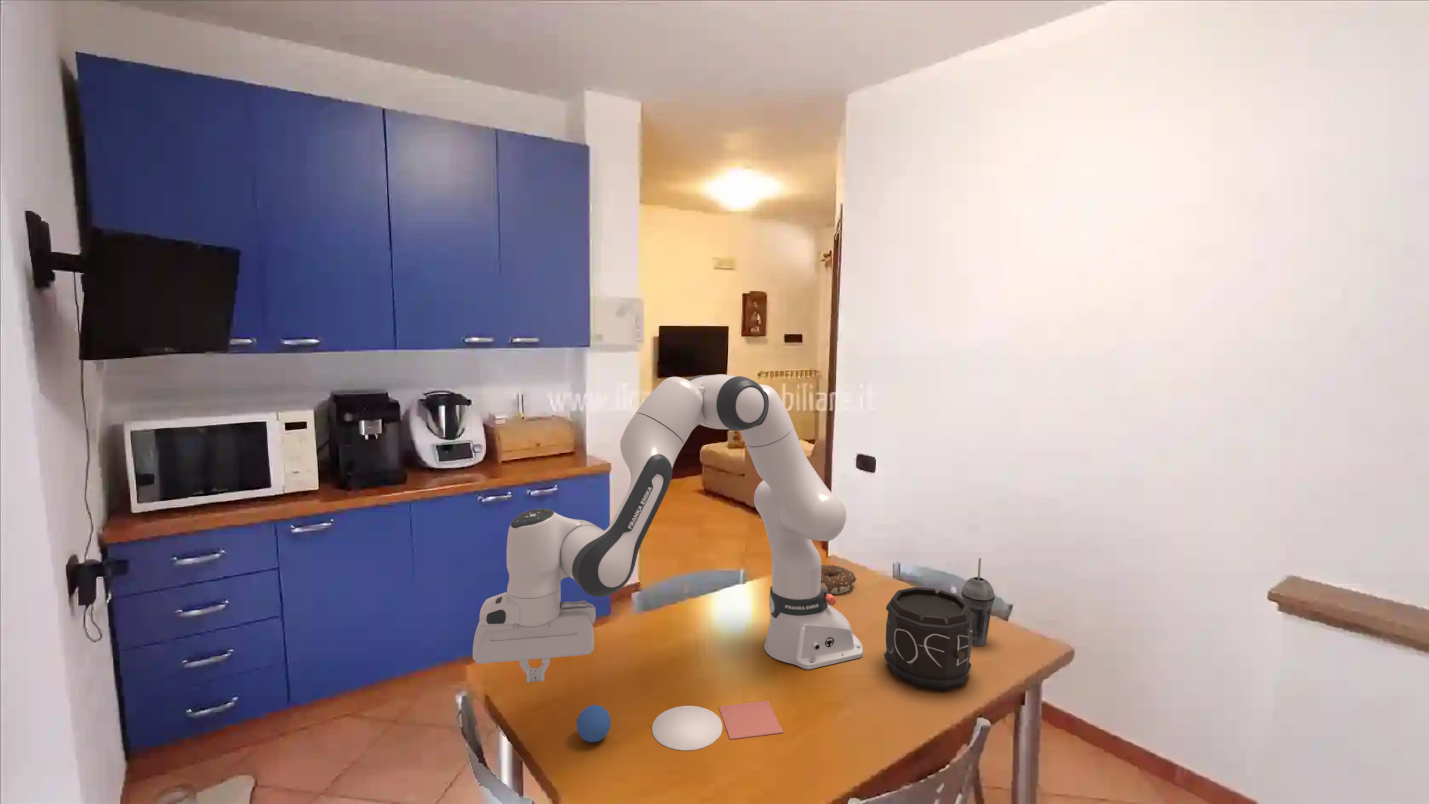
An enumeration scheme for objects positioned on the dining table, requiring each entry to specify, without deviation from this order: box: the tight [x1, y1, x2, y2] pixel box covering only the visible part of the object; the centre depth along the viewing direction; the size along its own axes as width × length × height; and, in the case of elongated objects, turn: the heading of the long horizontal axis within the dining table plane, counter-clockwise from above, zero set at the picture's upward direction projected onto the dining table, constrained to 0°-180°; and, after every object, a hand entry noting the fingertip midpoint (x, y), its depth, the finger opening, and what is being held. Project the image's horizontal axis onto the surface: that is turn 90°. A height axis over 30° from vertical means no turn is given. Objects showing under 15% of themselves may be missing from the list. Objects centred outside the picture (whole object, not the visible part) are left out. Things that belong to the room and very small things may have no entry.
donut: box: [821, 564, 857, 595], centre depth 183 cm, size 14×14×5 cm
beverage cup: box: [961, 557, 996, 647], centre depth 150 cm, size 7×7×20 cm
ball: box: [576, 704, 612, 743], centre depth 115 cm, size 6×6×6 cm
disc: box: [651, 705, 723, 752], centre depth 118 cm, size 13×13×1 cm
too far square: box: [718, 700, 784, 741], centre depth 121 cm, size 10×10×1 cm
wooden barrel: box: [883, 586, 974, 692], centre depth 137 cm, size 18×18×16 cm
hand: (535, 680), depth 112 cm, fingers closed
